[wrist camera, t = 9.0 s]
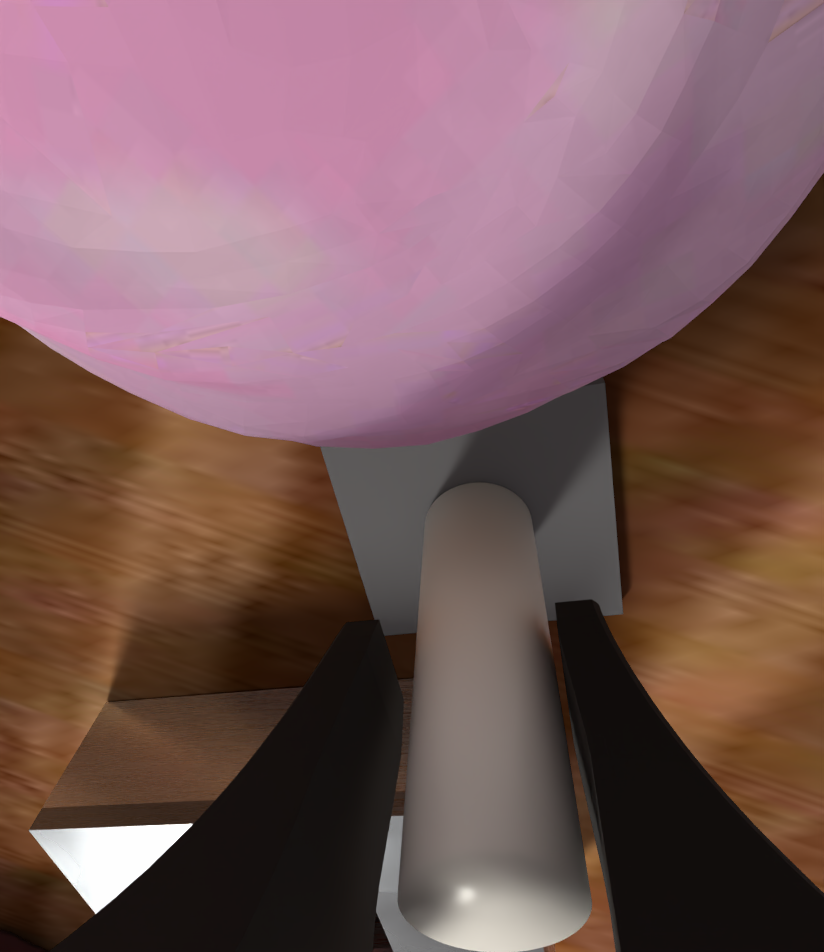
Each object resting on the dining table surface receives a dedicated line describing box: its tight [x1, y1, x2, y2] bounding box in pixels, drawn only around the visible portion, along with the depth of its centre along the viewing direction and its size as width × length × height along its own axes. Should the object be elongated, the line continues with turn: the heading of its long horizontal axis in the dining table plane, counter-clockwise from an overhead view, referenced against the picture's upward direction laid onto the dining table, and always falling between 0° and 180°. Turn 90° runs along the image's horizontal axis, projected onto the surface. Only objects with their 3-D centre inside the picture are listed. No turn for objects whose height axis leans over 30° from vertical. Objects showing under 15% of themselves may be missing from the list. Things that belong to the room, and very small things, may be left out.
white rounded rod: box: [397, 482, 592, 952], centre depth 12 cm, size 2×2×8 cm
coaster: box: [320, 377, 623, 636], centre depth 15 cm, size 6×6×1 cm
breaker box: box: [29, 678, 555, 952], centre depth 20 cm, size 12×10×4 cm
